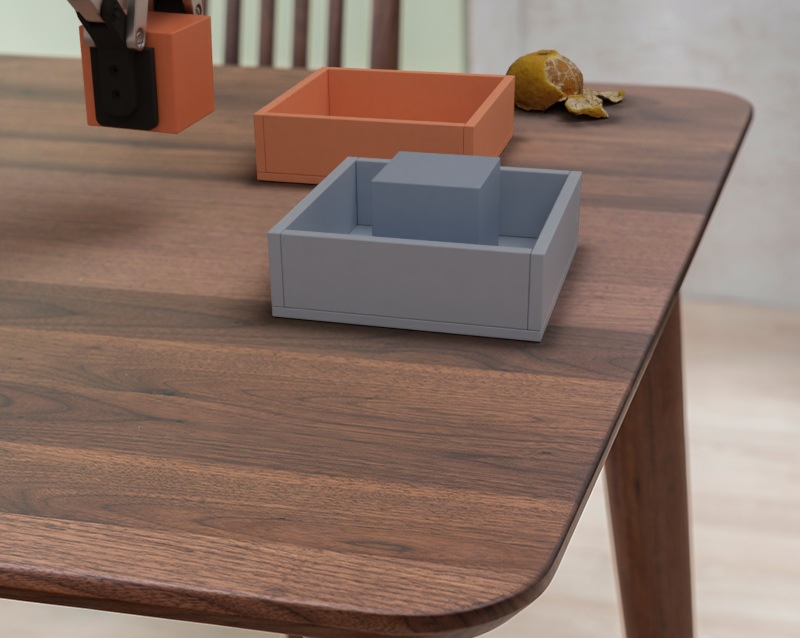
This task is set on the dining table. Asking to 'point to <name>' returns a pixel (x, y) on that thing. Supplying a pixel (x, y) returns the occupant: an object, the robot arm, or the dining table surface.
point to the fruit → (555, 85)
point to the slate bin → (426, 259)
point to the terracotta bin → (380, 119)
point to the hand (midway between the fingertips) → (151, 109)
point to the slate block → (437, 198)
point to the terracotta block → (171, 70)
